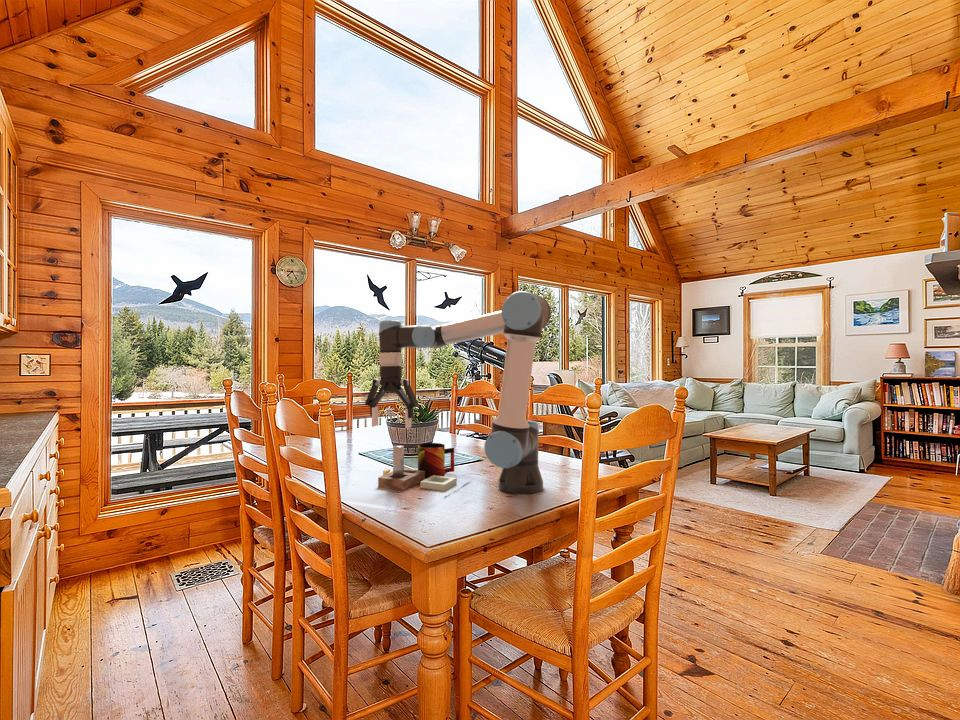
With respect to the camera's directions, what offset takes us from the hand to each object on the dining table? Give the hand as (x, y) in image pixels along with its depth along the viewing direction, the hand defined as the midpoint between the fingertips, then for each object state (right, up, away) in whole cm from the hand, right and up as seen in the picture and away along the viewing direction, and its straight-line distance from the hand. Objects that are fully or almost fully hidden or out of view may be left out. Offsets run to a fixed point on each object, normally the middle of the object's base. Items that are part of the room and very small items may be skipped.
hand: (391, 426), depth 168 cm
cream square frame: (+17, -20, -5) cm, 27 cm away
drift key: (+1, -20, +4) cm, 20 cm away
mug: (+14, -20, +10) cm, 26 cm away
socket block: (+4, -20, -2) cm, 21 cm away
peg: (+3, -19, -4) cm, 20 cm away
